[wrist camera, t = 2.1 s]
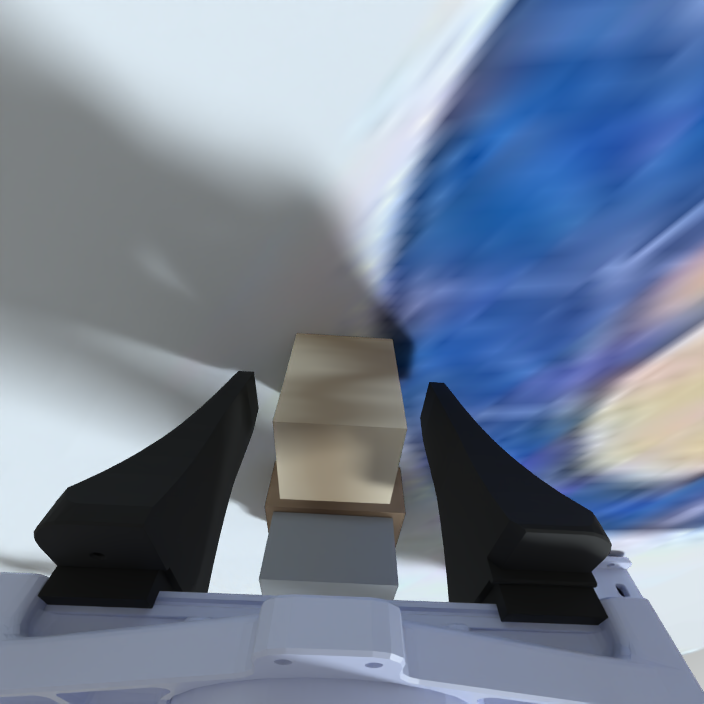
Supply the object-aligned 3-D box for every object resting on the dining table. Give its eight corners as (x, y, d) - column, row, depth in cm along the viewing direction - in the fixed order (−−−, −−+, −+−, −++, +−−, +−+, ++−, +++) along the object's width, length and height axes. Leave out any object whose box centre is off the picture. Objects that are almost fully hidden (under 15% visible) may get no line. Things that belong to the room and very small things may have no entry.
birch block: (392, 338, 14) (407, 428, 10) (381, 407, 16) (389, 503, 12) (296, 332, 14) (272, 421, 10) (299, 403, 16) (279, 498, 12)
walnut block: (399, 462, 19) (405, 513, 17) (384, 526, 23) (387, 575, 21) (276, 455, 19) (264, 506, 17) (282, 521, 23) (273, 569, 21)
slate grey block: (392, 517, 17) (398, 585, 15) (378, 570, 21) (381, 632, 18) (273, 511, 17) (258, 579, 14) (279, 565, 20) (268, 627, 18)
